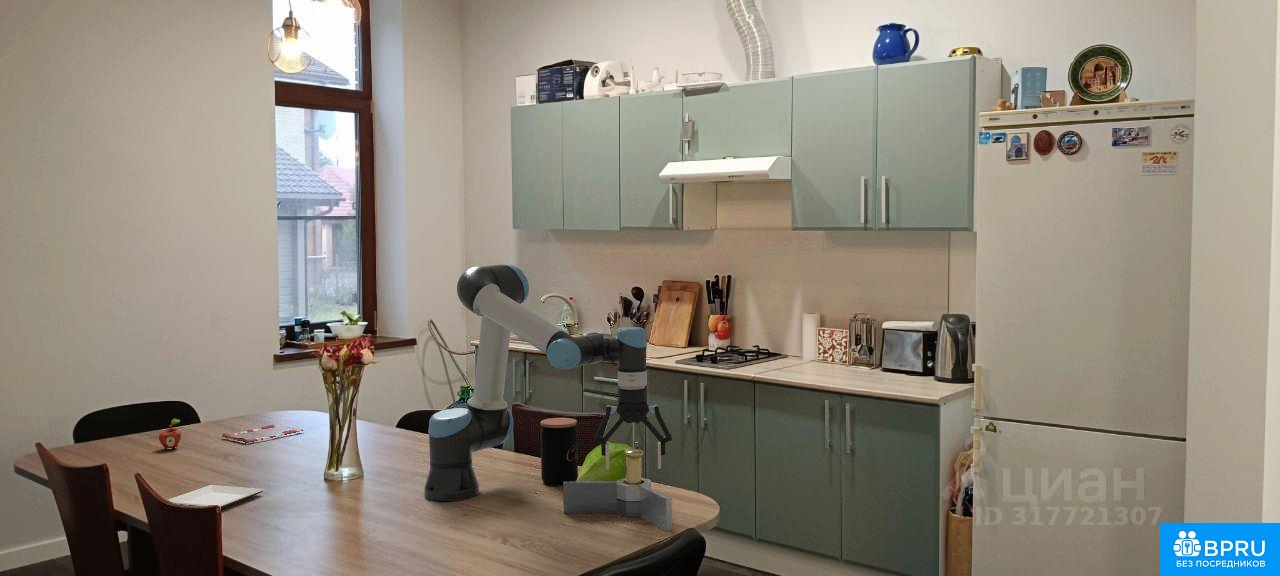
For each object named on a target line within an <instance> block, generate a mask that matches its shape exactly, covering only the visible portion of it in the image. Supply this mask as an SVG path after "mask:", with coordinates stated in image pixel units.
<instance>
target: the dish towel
mask: <svg viewBox="0 0 1280 576" xmlns="http://www.w3.org/2000/svg"><path fill="white" fill-rule="evenodd" d="M274 427H286V428H288V429H292V430H289V431H284V432H282V434H277V435H273V436H265V437H260V438H237V437H234V436H233V435H237V434H242V433H249V432H254V431H258V430H263V429H269V428H274ZM300 431H304V429H300V428H294V427H290V426H289V427H287V426H283V425H281V424H270V425H266V426H262V427H259V428H253V429H247V430H242V431H241V432H235V433H227V432H224V433H221V438H223V437H225V438H228V439H229V438H230V439H233V440H237V441H243V442H245V443H249V442H254V441H258V440H263V439H268V438H273V437H278V436H282V435H287V434H291V433H296V432H300ZM304 432H305V431H304Z"/></svg>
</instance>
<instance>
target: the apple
mask: <svg viewBox="0 0 1280 576" xmlns="http://www.w3.org/2000/svg"><path fill="white" fill-rule="evenodd" d="M180 422H181V420H180V419H176V418H173V419H172V420H171V421H170V425H169V428H166V429H164V430H162V431H161V432H160V433H159V435H158V441H159V442H160V444H161V446H162V447H163V448H164V449H165V448H175V447H176V448H178V447H179V446H178V445H179V443H180V441H181V439H182V434H181V430H180V429H177V428H173V427H172V426H174V425H177V424H179V423H180ZM176 448H175V449H176Z"/></svg>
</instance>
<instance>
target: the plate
mask: <svg viewBox="0 0 1280 576" xmlns="http://www.w3.org/2000/svg"><path fill="white" fill-rule="evenodd" d="M264 491H265V489H263V488H254V487H253V488H252V487H241V486H230V485H219V484H209V485H207V486H203V487H201V488H198V489H195V490H192V491H189V492H187V493H183V494H180V495H178V496H175V497H170V498H169V499H168V498H167V500H169V501H171V502H173V503H176V504H180V505H189V506H208V505H219V506H221V509H224V508H226V507H228V506H231V505H234V504H237V503H240V502H242V501H244V500H247V499H249V498H252V497H254V496H257V495H259V494H261V493H264Z"/></svg>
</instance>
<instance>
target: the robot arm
mask: <svg viewBox="0 0 1280 576" xmlns="http://www.w3.org/2000/svg"><path fill="white" fill-rule="evenodd" d="M529 291H530V285H529V281H528V278H527V276H526V274H525V273H524V271H523V270H522V269H520V268H519V267H518V266H516V265H513V264H503V263H502V264H494V265H477V266H473V267H470V268H467V269H466V270H465V271H464V272H462V274H461V275H460V277H459V278H458V280H457V283H456V293H457V298H458V300H459V301H460V303H461V304H462V305H463V306H464V307H465V308H466V309H467V310H468V311H470V312H472V313H473V314H475V315H476V316H479V317H481V321H480V332H479V341H478V350H477V359H476V367H475V368H476V369H475V377H474V387H473V395H472V396H471V397H469V398H468V400H467V403H466V407H465V408H464V407H454V408H450V409H448V408H447V409H444V410H443V409H442V410H440V411H438V412H435V413H434V414H432V415H431V416H430V419H429V421H428V423H429V424H428V443H429V444H428V445H429V470H428V471H429V472H428V473H427V474H428V475H427V477H426V482H425V484H424V489H423V490H424V491H423V492H424V498H426V499H427V500H430V501H437V502H454V501H462V500H463V501H464V500H468V499H471V498H475V497H476V496H478V495H479V494H480V484H479V482H478V479H477V475H476V473H475V469H474V466H473V453H474V452H478V451H482V450H487V449H490V448H491V449H492V448H495V447H498V446H499V445H502V444H503V443H505V442H506V441H508V440H509V438H510V437H511V435H512V432H513V430H514V417H513V415H512V412H511V410H510V409H509V408H508V402H506V400H505V399H504V395H505V394H504V393H505V384H506V374H507V366H508V357H509V349H510V339H511V334H513V335H515V336H517V337H518V338H520V340H521V339H522V340H523V341H525V342H526V343H527V344H529V345H531V346H532V347H534V348H535V349H537V350H538V351H541V353H543V354H545V355H546V356H547V357H546V358H547V361H548V362H549V363H550V366H551V367H553V368H555V369H556V370H571V369H574V368H575V369H576V368H578V367H583V366H587V365H594V364H598V363H612V364H617V385H618V386H619V387H618V389H617V397H618V398H617V401H618V403H617V405H616V406H614V405H611V404H608V405H606V407H605V415H604V416H603V419H602V421H601V423H600V425H599V427H598V430H597V432H596V433H595V436H594V438H593V440H594V442H595V443H596V442H597V443H599V444H600V445H601V454H602V456H606V469H609V443H610V442H609V441H608V440H610V438H611V437H612V436H613V435H614V433H615V432H616V431H617V430H618V428H620V426H621V425H622V424H623V423H624V422H625V423H626V424H632V423H635V424H639V423H640V422H642V423H643V424H644V425H645V426H646V427H647V429H648V430H649V431H650V432H651V433H652V434H653V435H654V436H655V438H656V439H657V440H658V442H657V469H658V470H661V469H662V456H665V455H666V443H668V442H671V441H673V436H672V433H671V432H670V430H669V427H668V426H667V424H666V422H665V420H664V418H663V416H662V414H661V410H660V405H659V404H655V405H651V406H650V405H648V388H647V387H646V386H647V385H648V370H647V346H648V344H647V336H646V335H647V334H646V330H645V328H643V327H639V326H624V327H619V328H618V329H617V331H616V334H613V333H612V334H610V333H601V332H600V333H599V332H594V331H593V332H585V333H583V334H582V335H580V336H573V335H570V334H569V333H567V332H566V331H564V330H562V329H561V328H559V327H557V326H556V325H554V324H553V323H551V322H550V321H548V320H546V319H544V318H543V317H541V316H540V315H538V314H536V313H535V312H533V311H532V310H530V309H529V308H527V307H526V306H524V305H522V303H524V302H525V300H527V299H528V296H529ZM615 412H616V413H617V414H618V415H619V417H618V418H617V420H616V421H614V424H613V425H611V427H610V429H608V431H607V432H606V433H605V434H604V435H603V436H602V434H603V432H604V430H605V427H606V425H607V423H608V422H609V419H610V418H611V416H612V415H614V413H615ZM649 412H651V413H652V414H653V415H654V416H655V418H656V420H657V422H658V424H659V426H660V428H661V430H662V431H663V434H664V436H663V434H662V433H661V432H660V431H659V429H658V428H656V426H655V425H654V424H653V423H652V422H651V421H650V419H649V418H648V416H647V414H648V413H649ZM511 415H512V416H511Z"/></svg>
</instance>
